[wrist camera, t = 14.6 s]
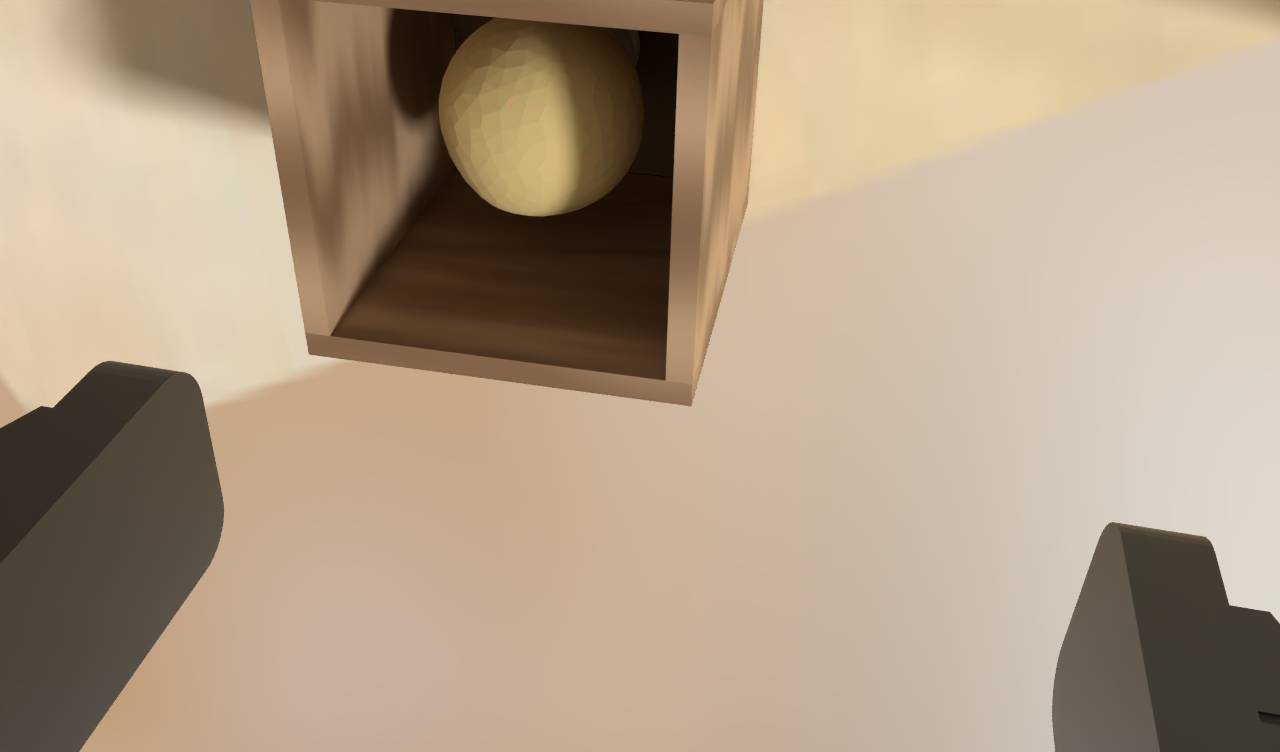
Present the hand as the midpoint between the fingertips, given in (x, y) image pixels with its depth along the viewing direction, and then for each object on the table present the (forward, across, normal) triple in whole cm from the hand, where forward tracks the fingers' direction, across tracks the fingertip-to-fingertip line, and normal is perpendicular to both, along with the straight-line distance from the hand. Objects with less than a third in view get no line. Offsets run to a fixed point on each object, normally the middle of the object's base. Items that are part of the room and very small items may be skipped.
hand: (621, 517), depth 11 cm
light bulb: (+34, +8, +8) cm, 36 cm away
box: (+34, +8, +8) cm, 36 cm away
